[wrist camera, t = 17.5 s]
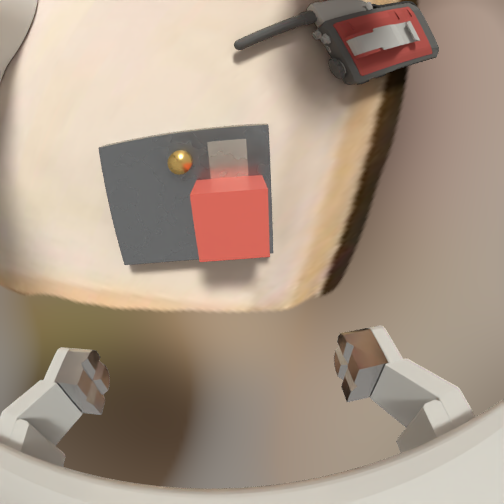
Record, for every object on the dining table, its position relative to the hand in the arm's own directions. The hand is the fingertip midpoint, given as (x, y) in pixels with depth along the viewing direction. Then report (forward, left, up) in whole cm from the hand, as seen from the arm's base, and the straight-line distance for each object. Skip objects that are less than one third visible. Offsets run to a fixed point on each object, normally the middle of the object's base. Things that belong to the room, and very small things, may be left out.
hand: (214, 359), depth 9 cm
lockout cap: (+1, -1, -18) cm, 18 cm away
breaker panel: (-3, 0, -20) cm, 20 cm away
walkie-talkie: (+12, +14, -21) cm, 28 cm away
